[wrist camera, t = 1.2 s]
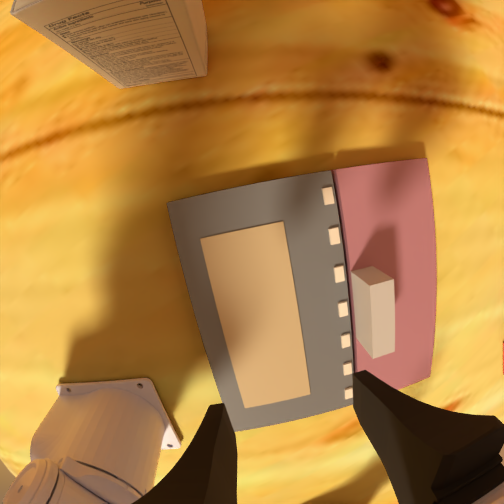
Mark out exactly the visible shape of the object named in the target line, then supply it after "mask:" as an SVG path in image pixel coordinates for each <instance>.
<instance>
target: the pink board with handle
mask: <svg viewBox="0 0 504 504" xmlns="http://www.w3.org/2000/svg"><path fill="white" fill-rule="evenodd" d="M331 173H332V178H333V184H334V190H335V196H336V202H337V209H338V215H339V222H340V229H341V236H342V244H343V251H344V260H345V268H346V277H347V287H348V297H349V308H350V321H351V334H352V350H353V371H354V373H356V372H359V371H362V370H367V371H368V372H370V373H371V374H373V375H374V376H376V377H377V378H379V379H380V380H382V381H384V382H385V383H387V384H388V385H390V386H391V387H393V388H395V389H397V390H398V389H401V388H404V387H406V386H409V385H411V384H414V383H416V382H418V381H421V380H423V379H426V378H428V377H430V373H431V365H432V356H433V345H434V333H435V316H436V241H435V225H434V212H433V201H432V192H431V184H430V176H429V169H428V162H427V158H421V159H411V160H402V161H393V162H385V163H377V164H370V165H362V166H355V167H348V168H341V169H335V170H331Z"/></svg>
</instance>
